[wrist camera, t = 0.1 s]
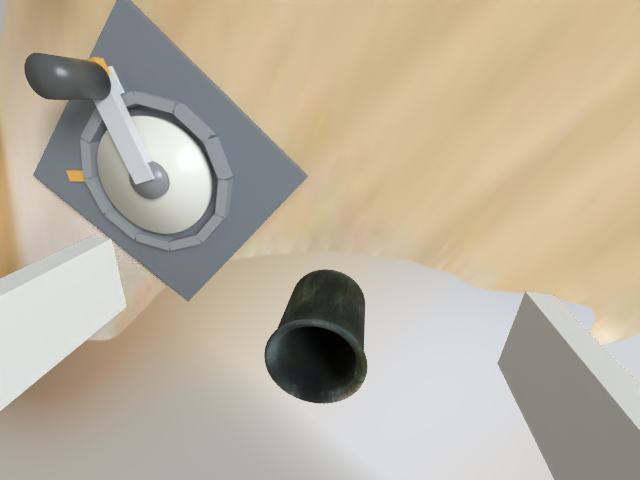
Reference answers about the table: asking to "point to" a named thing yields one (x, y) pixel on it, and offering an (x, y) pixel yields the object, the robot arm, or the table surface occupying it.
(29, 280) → the robot arm
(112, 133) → the dial
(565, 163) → the table surface
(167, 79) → the panel
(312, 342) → the mug
